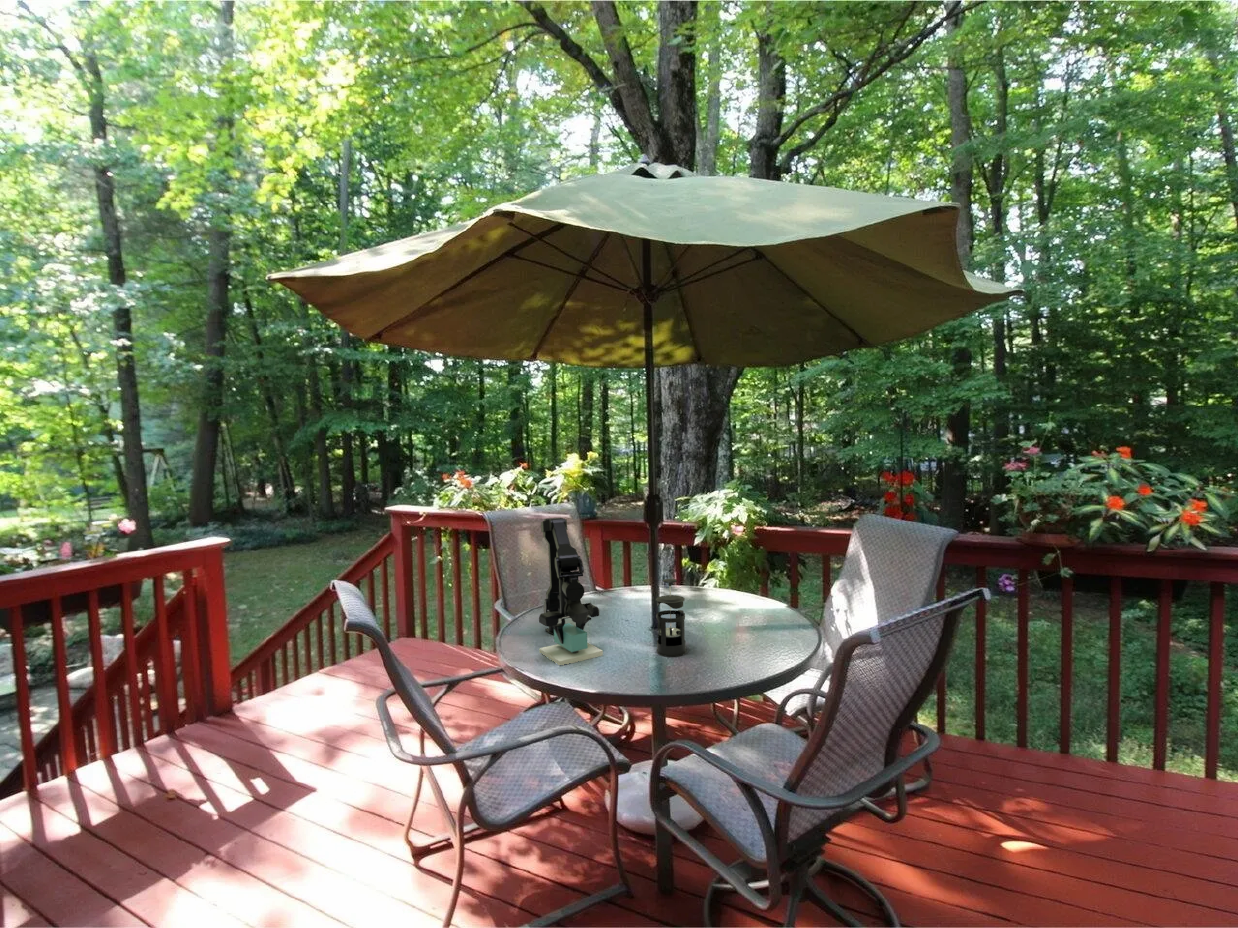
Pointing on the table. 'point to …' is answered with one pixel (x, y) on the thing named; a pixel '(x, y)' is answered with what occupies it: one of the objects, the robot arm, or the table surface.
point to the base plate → (569, 654)
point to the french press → (670, 638)
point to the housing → (572, 638)
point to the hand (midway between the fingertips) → (570, 641)
